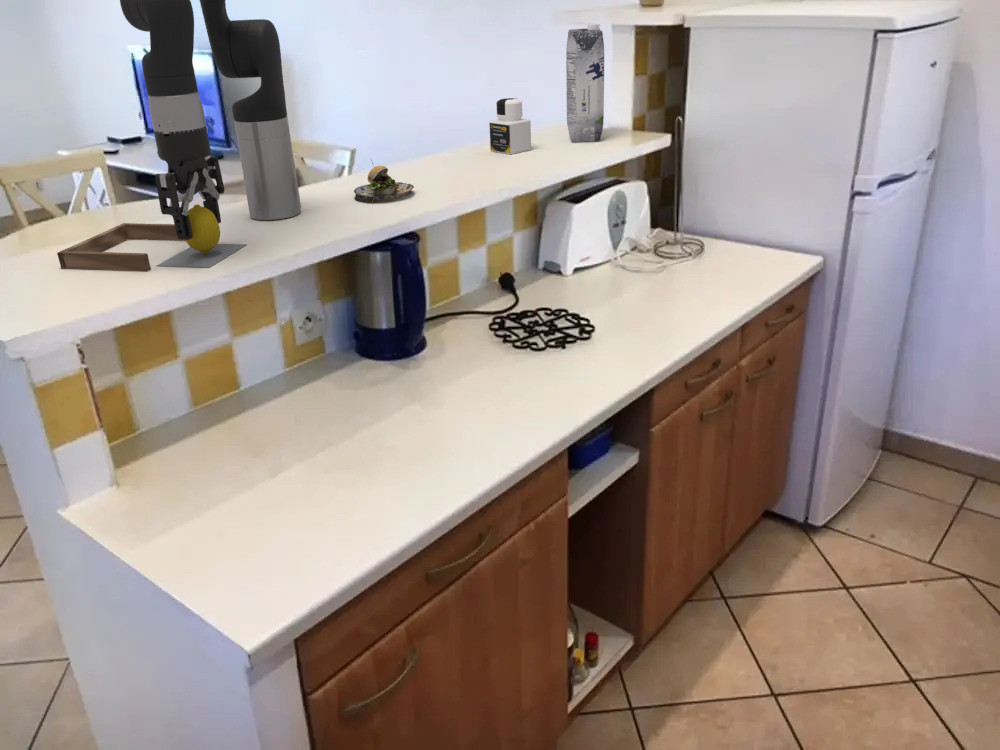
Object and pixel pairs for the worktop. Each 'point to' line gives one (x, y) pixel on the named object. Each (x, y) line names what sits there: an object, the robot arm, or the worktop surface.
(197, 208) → the lemon
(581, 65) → the juice carton
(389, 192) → the burger
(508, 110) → the medicine bottle
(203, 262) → the mat
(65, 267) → the bay
